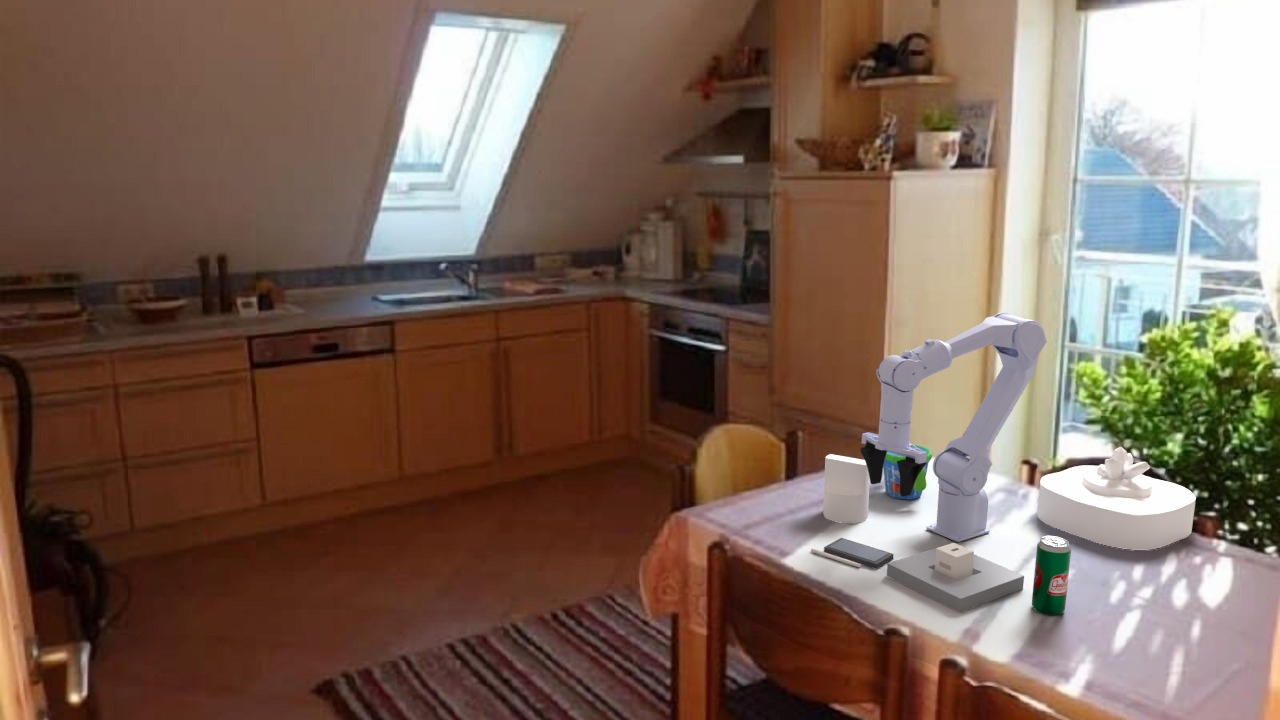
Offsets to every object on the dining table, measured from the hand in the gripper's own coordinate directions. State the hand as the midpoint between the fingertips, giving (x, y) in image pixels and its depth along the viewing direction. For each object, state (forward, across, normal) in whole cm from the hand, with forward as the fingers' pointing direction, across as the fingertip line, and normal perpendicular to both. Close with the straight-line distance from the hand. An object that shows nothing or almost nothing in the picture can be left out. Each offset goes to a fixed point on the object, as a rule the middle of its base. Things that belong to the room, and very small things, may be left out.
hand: (890, 489), depth 183 cm
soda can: (+10, +34, +2) cm, 36 cm away
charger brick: (+10, +19, -4) cm, 22 cm away
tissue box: (+10, +18, +45) cm, 50 cm away
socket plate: (+10, +19, -4) cm, 22 cm away
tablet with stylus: (+11, +1, -11) cm, 15 cm away
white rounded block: (+11, -14, +2) cm, 18 cm away
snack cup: (+10, -16, +22) cm, 29 cm away
